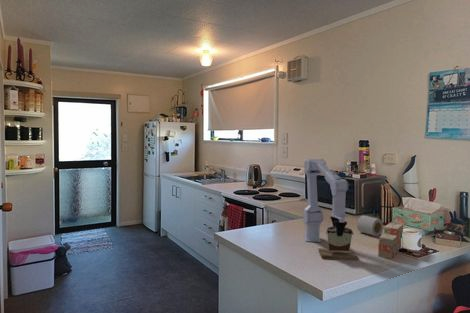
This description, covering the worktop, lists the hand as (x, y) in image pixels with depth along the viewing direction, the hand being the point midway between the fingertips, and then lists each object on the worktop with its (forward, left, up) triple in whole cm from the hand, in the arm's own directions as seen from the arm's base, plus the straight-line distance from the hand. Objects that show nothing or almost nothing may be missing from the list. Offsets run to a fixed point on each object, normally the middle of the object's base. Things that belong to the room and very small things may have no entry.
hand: (337, 233), depth 158 cm
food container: (0, 0, -7) cm, 7 cm away
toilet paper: (-38, +27, -11) cm, 48 cm away
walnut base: (0, 0, -10) cm, 10 cm away
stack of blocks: (-8, +28, -11) cm, 31 cm away
